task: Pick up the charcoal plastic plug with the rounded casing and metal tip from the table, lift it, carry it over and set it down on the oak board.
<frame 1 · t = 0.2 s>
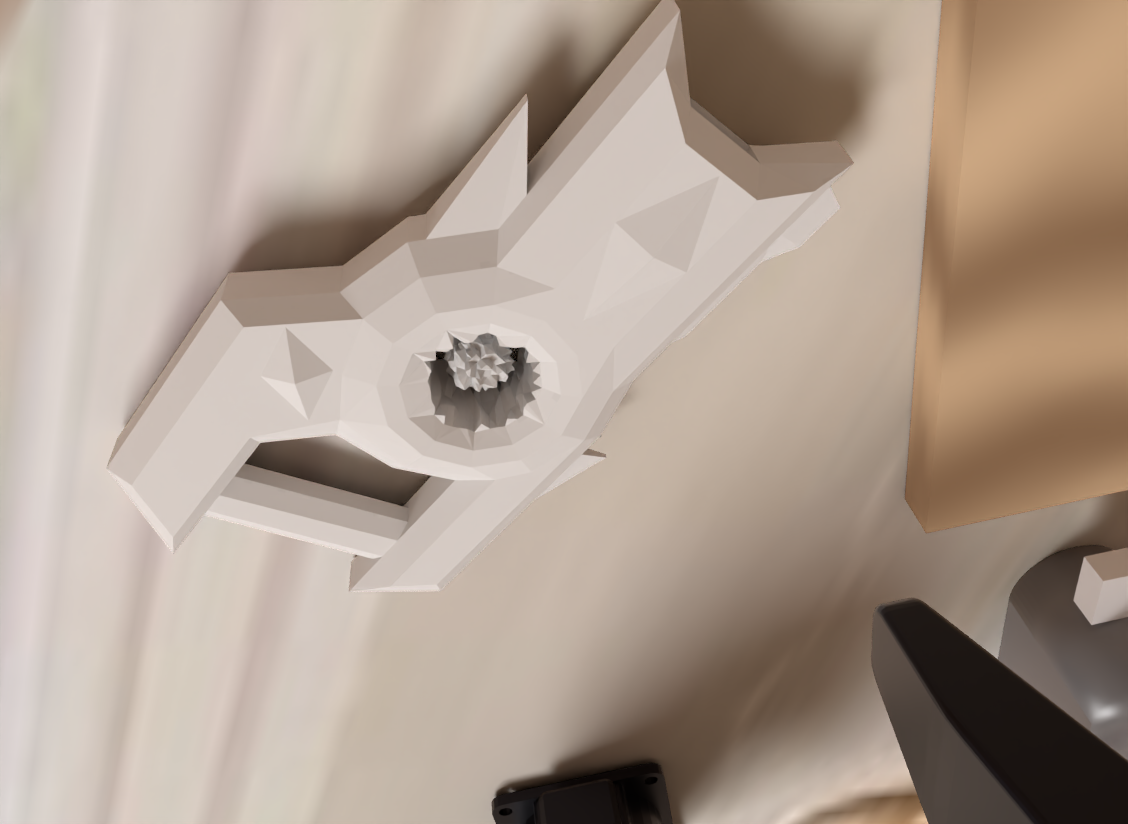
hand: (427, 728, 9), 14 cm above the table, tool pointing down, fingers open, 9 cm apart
gun: (446, 316, 24), on the table
plug: (1053, 642, 35), on the table
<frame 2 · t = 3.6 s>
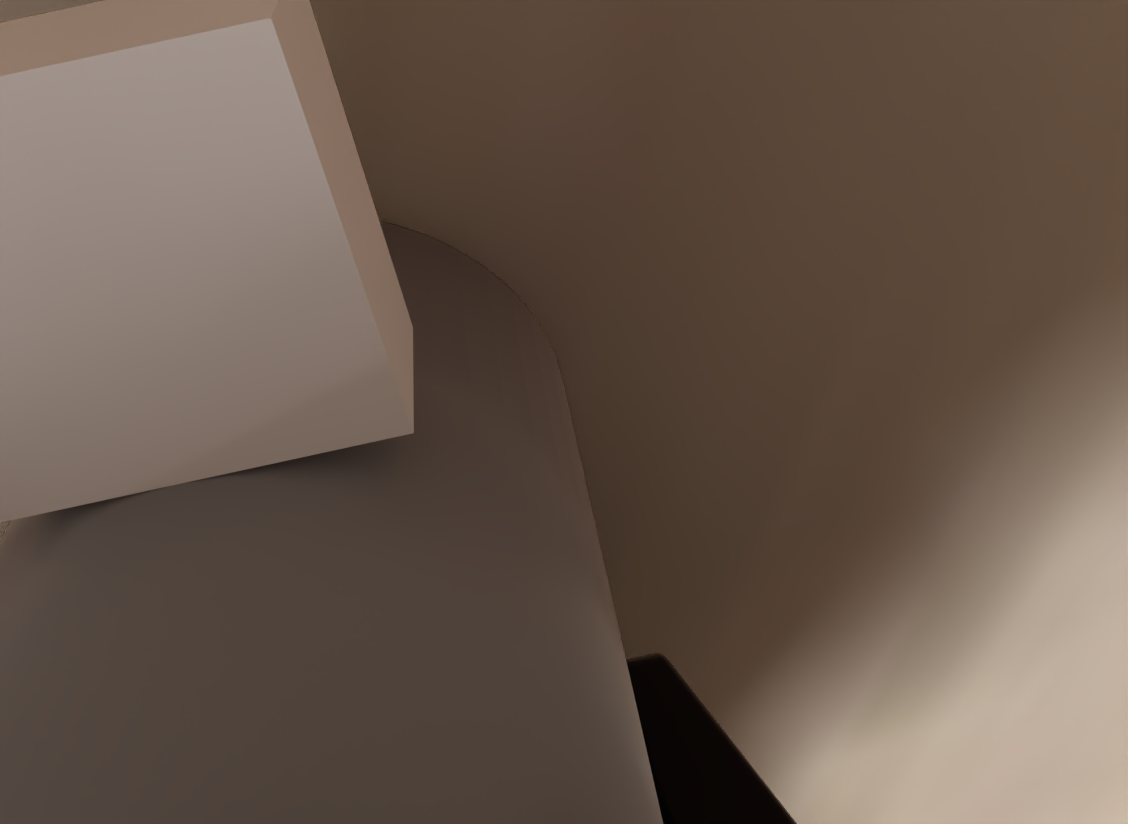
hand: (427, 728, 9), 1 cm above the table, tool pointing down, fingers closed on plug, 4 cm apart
plug: (425, 645, 10), on the table, touching gripper
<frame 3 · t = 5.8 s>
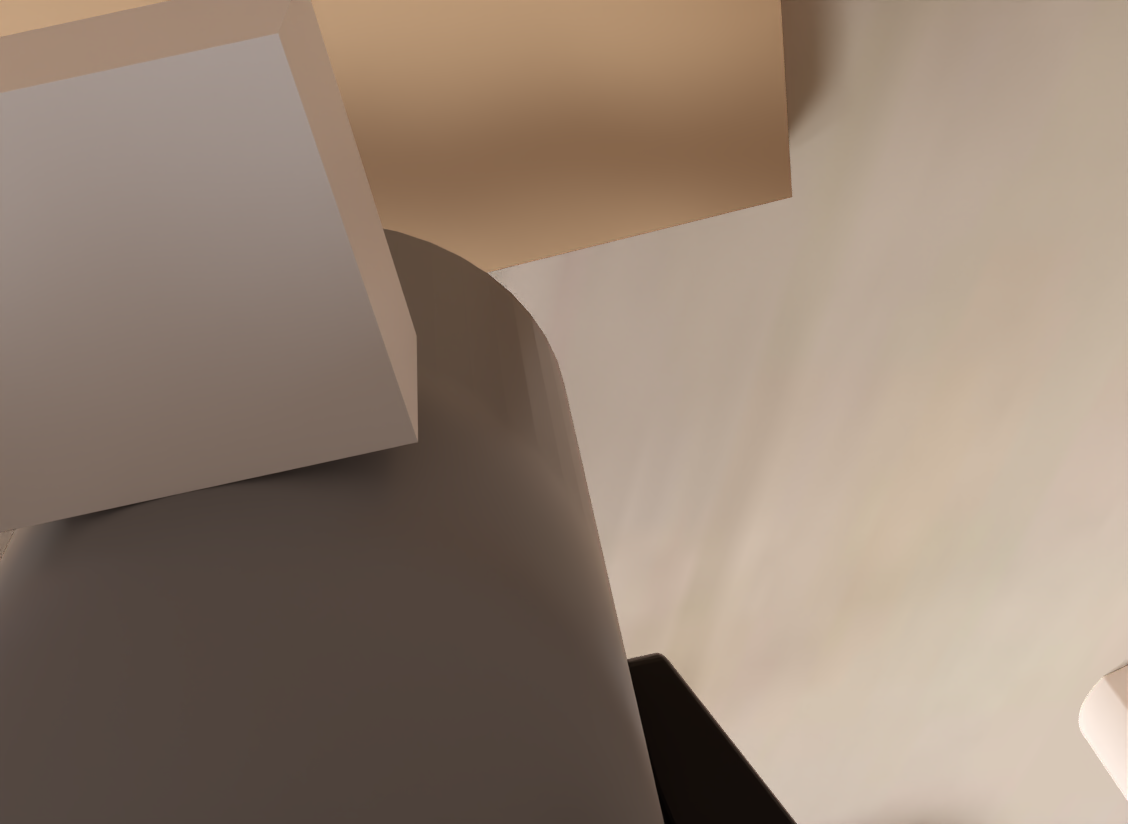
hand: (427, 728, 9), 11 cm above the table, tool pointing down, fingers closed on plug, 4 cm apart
plug: (427, 648, 10), point 10 cm above the table, touching gripper
when the fingers open (3 cm above the table, at t = 8.3 s): plug stays where it is, resting on oak board.
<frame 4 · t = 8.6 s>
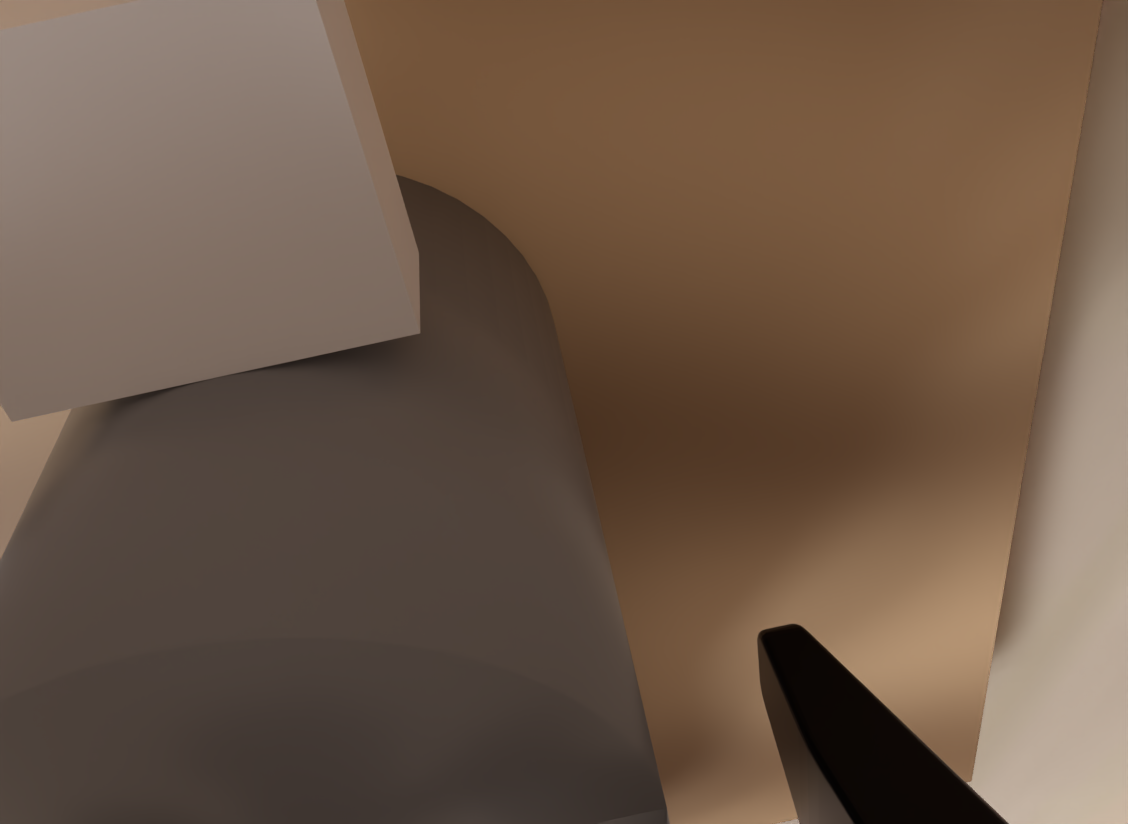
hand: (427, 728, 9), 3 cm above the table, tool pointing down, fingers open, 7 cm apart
plug: (428, 579, 11), point 1 cm above the table, touching oak board
oak board: (402, 428, 11), on the table
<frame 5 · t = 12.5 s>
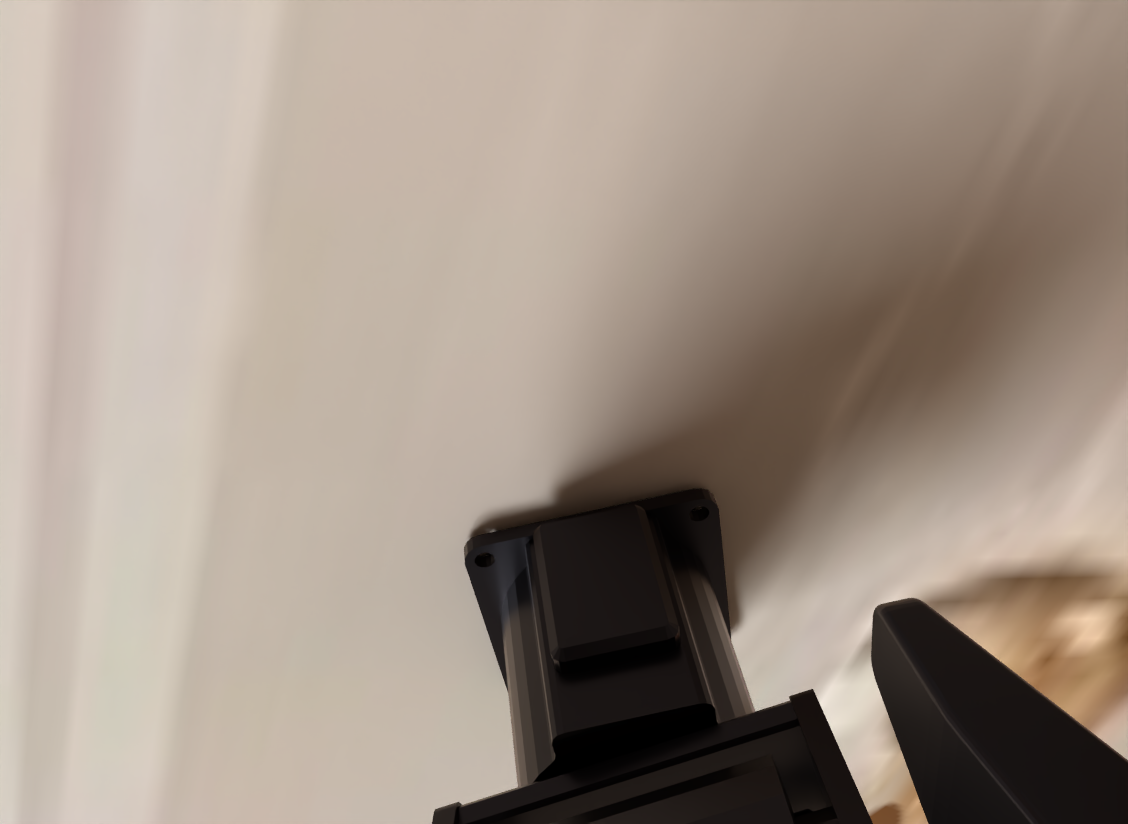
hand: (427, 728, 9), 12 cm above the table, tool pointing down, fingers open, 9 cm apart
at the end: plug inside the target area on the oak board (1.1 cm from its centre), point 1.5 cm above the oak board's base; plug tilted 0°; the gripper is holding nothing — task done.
